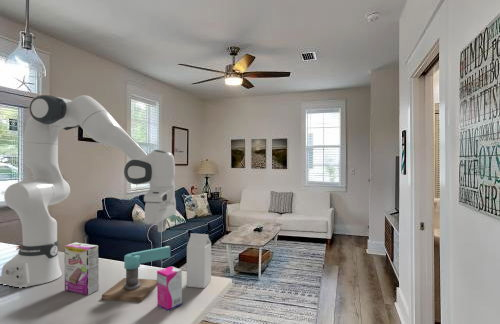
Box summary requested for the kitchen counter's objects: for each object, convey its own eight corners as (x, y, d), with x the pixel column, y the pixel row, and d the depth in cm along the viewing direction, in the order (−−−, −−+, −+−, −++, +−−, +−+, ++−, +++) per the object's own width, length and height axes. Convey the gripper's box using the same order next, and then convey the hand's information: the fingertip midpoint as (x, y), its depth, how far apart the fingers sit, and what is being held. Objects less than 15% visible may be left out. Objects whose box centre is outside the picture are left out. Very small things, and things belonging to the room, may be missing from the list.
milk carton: (204, 288, 108) (205, 237, 108) (186, 286, 110) (186, 235, 110) (211, 280, 115) (211, 232, 115) (193, 279, 117) (194, 231, 117)
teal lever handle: (126, 270, 102) (126, 256, 102) (122, 266, 106) (122, 252, 106) (172, 260, 113) (172, 247, 112) (166, 256, 117) (166, 244, 117)
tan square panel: (101, 299, 100) (101, 273, 100) (123, 281, 114) (124, 259, 114) (141, 301, 98) (141, 275, 98) (159, 283, 112) (159, 260, 112)
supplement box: (171, 299, 100) (171, 265, 100) (182, 304, 97) (182, 269, 96) (156, 305, 96) (156, 270, 96) (167, 311, 92) (167, 275, 92)
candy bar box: (63, 291, 105) (63, 245, 105) (75, 285, 110) (75, 241, 110) (87, 296, 102) (87, 248, 102) (99, 290, 107) (99, 244, 106)
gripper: (165, 190, 120) (164, 224, 120) (141, 197, 100) (140, 238, 100) (180, 191, 120) (179, 225, 120) (159, 198, 99) (158, 239, 99)
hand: (161, 231), depth 110 cm, fingers closed
